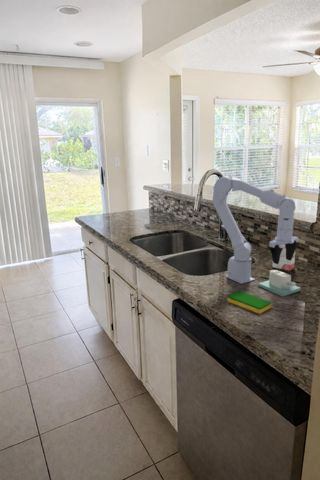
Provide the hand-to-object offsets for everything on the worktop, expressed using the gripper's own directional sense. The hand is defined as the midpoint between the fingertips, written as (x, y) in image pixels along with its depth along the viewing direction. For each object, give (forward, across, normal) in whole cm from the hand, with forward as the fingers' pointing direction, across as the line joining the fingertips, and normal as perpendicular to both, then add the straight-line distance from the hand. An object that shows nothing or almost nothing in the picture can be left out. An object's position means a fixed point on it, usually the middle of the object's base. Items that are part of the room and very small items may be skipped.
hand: (282, 261), depth 139 cm
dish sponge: (+10, -25, -7) cm, 27 cm away
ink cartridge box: (+10, +16, +12) cm, 22 cm away
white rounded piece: (+8, -4, -3) cm, 10 cm away
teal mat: (+9, -4, -3) cm, 11 cm away
